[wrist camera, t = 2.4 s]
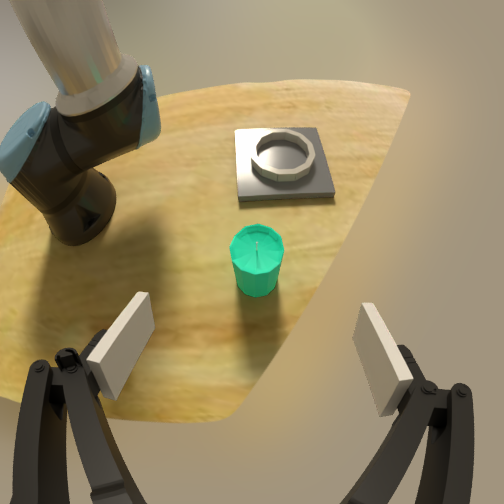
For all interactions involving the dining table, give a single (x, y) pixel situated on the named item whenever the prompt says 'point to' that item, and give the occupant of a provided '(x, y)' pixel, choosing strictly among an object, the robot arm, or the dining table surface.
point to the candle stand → (281, 164)
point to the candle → (256, 259)
